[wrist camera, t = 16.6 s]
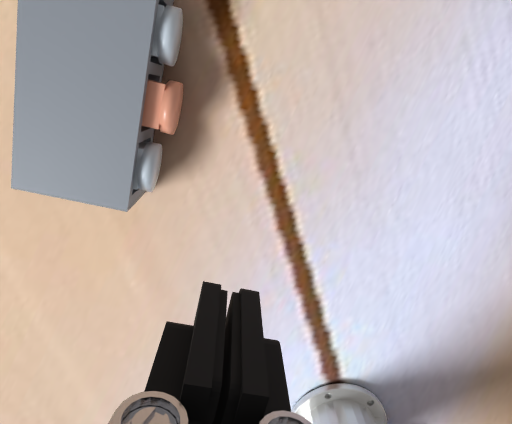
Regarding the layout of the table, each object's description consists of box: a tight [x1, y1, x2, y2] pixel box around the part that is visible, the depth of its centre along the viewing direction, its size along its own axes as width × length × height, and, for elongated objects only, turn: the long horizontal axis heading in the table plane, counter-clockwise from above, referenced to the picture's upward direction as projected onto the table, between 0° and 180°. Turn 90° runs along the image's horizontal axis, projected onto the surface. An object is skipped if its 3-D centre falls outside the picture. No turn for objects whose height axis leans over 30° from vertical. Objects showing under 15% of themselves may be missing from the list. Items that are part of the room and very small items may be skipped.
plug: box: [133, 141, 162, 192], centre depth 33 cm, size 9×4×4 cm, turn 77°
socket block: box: [11, 0, 174, 212], centre depth 31 cm, size 9×18×6 cm, turn 167°
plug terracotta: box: [141, 79, 183, 135], centre depth 31 cm, size 9×4×4 cm, turn 77°
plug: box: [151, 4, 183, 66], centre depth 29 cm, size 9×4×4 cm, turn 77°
